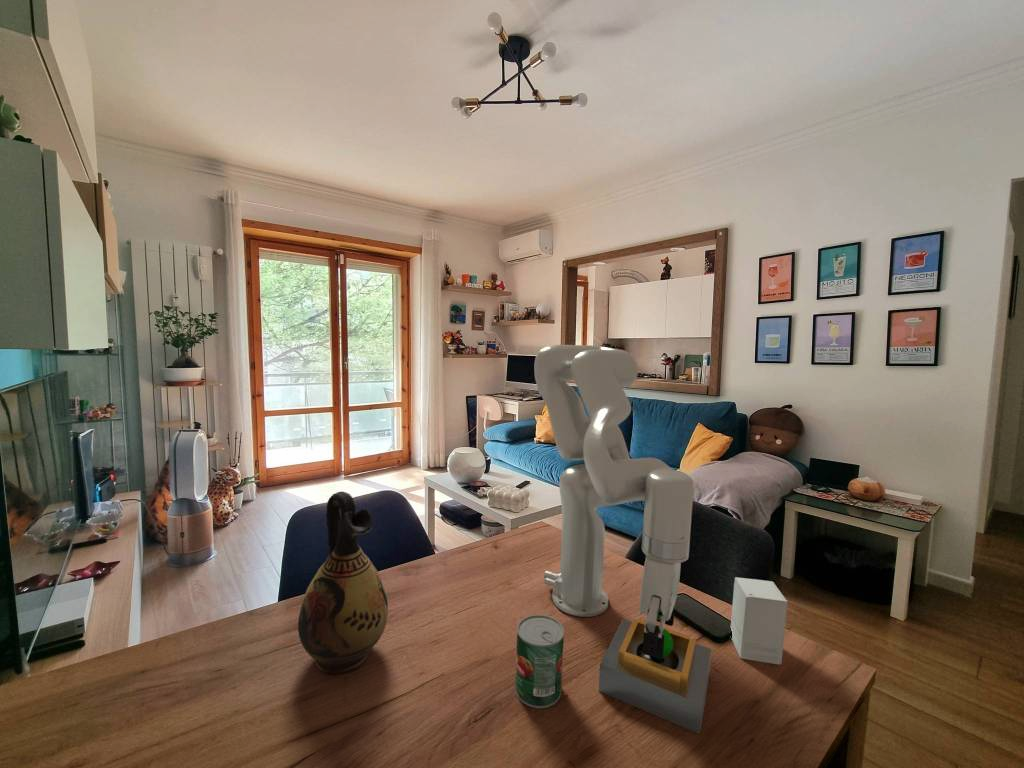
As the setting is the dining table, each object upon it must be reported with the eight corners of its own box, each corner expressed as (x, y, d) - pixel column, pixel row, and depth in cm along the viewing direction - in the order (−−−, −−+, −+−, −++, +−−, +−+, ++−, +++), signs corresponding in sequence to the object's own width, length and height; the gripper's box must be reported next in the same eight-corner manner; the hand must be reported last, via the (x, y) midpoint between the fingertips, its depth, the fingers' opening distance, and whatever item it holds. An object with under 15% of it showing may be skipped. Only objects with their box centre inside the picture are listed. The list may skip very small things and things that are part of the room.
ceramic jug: (404, 654, 82) (405, 499, 79) (322, 703, 71) (318, 524, 68) (359, 613, 94) (358, 476, 91) (282, 650, 83) (277, 495, 79)
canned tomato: (505, 685, 76) (507, 625, 75) (540, 665, 81) (542, 608, 80) (535, 717, 70) (538, 652, 69) (571, 694, 74) (574, 632, 73)
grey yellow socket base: (598, 691, 75) (600, 652, 74) (625, 634, 90) (627, 601, 89) (700, 734, 68) (703, 692, 67) (711, 664, 82) (713, 629, 82)
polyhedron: (646, 640, 80) (647, 616, 80) (674, 651, 78) (676, 625, 77) (638, 657, 76) (640, 631, 76) (668, 669, 74) (670, 642, 73)
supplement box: (782, 666, 82) (789, 602, 81) (739, 659, 84) (745, 596, 82) (768, 639, 90) (774, 580, 88) (728, 633, 91) (733, 575, 90)
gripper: (653, 520, 84) (647, 605, 86) (629, 559, 69) (623, 661, 71) (695, 530, 80) (688, 618, 82) (680, 573, 65) (672, 680, 67)
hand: (658, 638), depth 77 cm, fingers open, 9 cm apart
